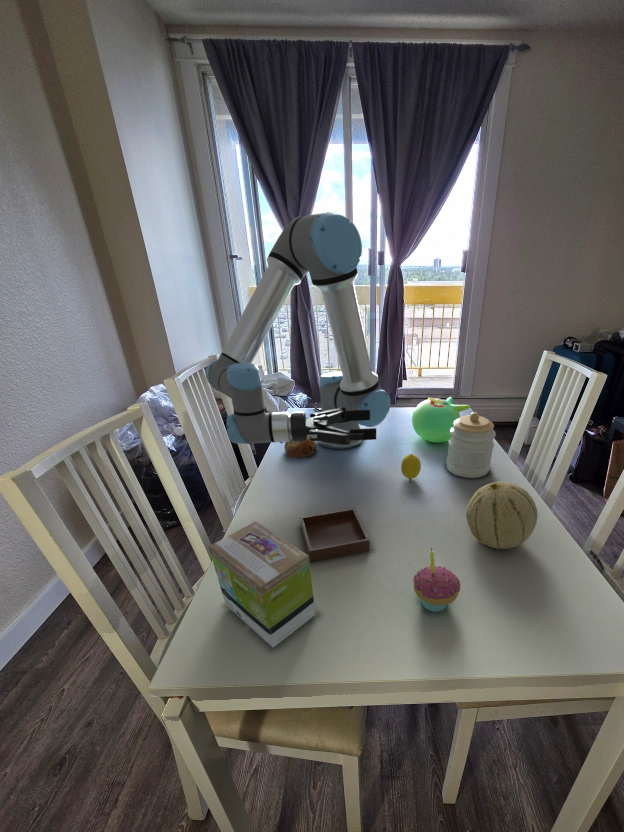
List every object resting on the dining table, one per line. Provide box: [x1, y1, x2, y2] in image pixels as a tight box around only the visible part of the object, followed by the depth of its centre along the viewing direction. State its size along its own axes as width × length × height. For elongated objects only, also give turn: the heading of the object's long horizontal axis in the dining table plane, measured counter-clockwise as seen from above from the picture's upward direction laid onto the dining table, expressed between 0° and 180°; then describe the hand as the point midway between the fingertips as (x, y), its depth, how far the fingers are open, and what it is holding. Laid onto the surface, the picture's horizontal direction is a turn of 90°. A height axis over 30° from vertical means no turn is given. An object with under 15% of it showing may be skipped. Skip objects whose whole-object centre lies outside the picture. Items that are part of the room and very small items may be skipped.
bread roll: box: [284, 435, 319, 458], centre depth 132 cm, size 10×10×8 cm
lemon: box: [400, 453, 422, 480], centre depth 115 cm, size 6×6×8 cm
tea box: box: [208, 521, 316, 648], centre depth 71 cm, size 15×10×15 cm, turn 49°
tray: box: [299, 507, 371, 563], centre depth 93 cm, size 13×13×3 cm
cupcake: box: [412, 547, 461, 613], centre depth 74 cm, size 9×8×12 cm
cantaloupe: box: [466, 481, 538, 550], centre depth 89 cm, size 15×15×15 cm
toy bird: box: [411, 396, 471, 444], centre depth 138 cm, size 18×17×15 cm
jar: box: [446, 411, 497, 479], centre depth 118 cm, size 13×13×18 cm
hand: (373, 423), depth 107 cm, fingers open, 13 cm apart
